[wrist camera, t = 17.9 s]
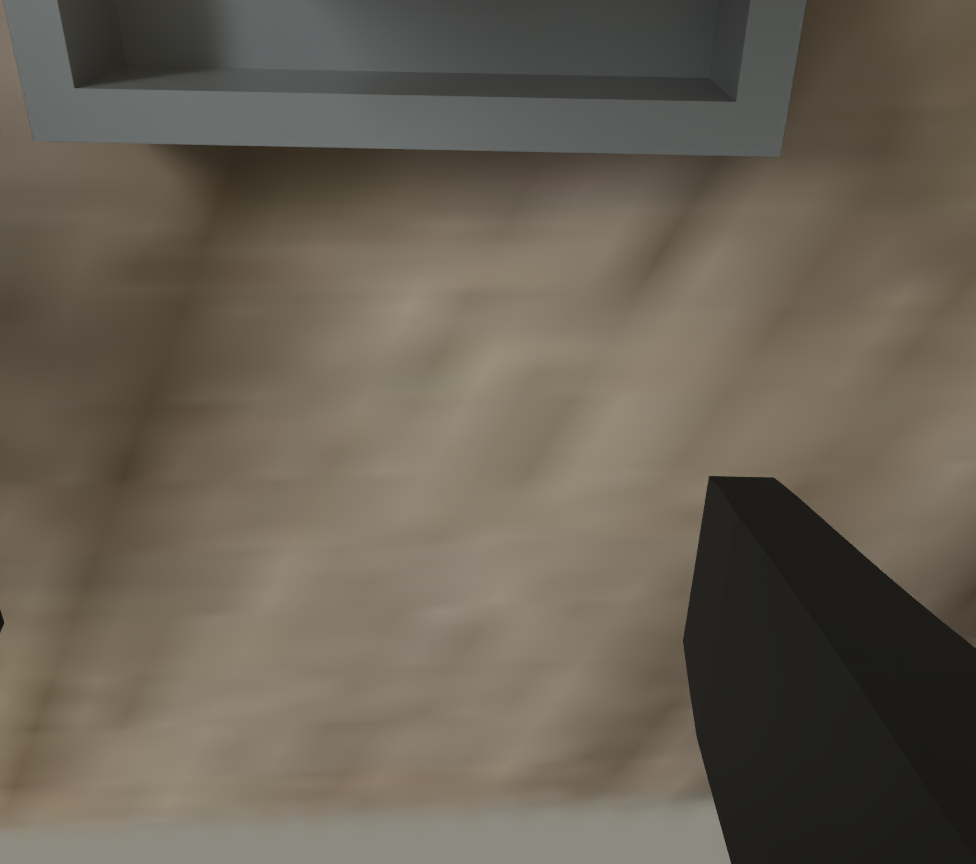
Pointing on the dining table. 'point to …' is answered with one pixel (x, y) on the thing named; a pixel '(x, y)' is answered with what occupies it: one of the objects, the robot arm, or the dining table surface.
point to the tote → (412, 73)
